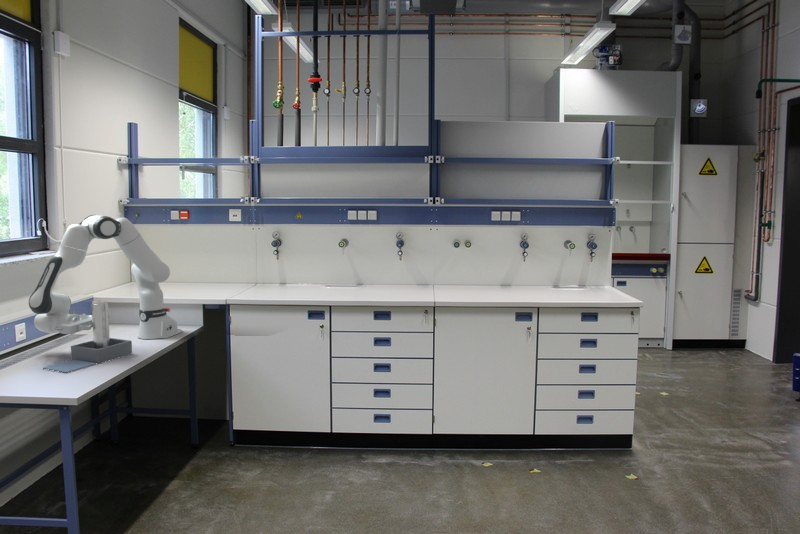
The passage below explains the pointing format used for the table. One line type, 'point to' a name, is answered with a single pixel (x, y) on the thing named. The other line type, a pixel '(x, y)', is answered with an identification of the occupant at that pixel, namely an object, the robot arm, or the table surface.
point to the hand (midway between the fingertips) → (97, 325)
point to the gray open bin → (101, 351)
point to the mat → (69, 366)
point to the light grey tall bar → (100, 324)
